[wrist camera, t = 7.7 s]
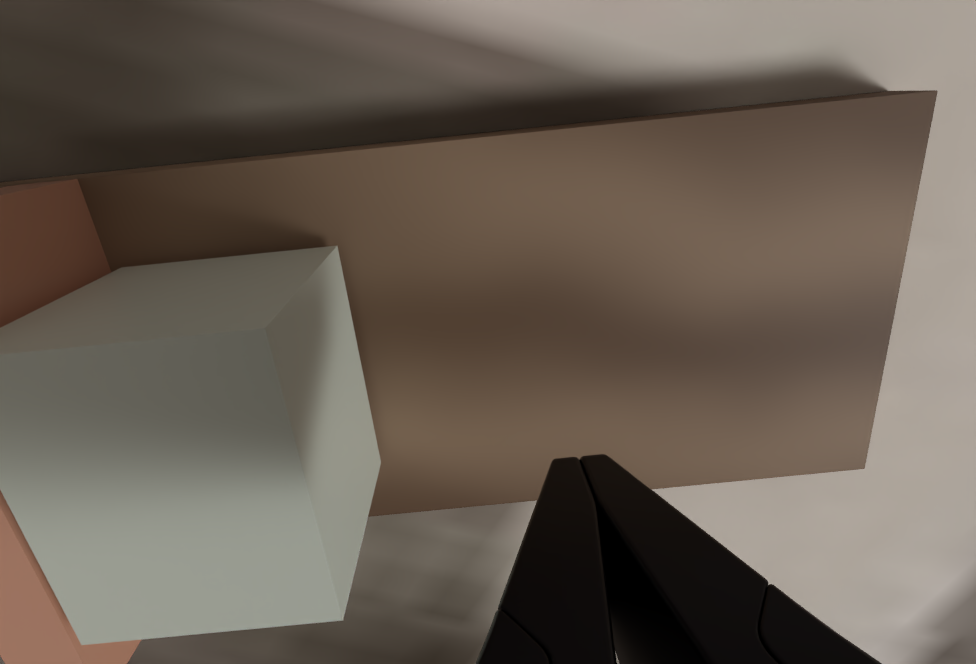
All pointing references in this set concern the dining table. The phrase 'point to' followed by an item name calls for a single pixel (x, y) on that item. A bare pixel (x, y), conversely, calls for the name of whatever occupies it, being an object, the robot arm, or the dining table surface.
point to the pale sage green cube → (192, 445)
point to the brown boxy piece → (539, 295)
